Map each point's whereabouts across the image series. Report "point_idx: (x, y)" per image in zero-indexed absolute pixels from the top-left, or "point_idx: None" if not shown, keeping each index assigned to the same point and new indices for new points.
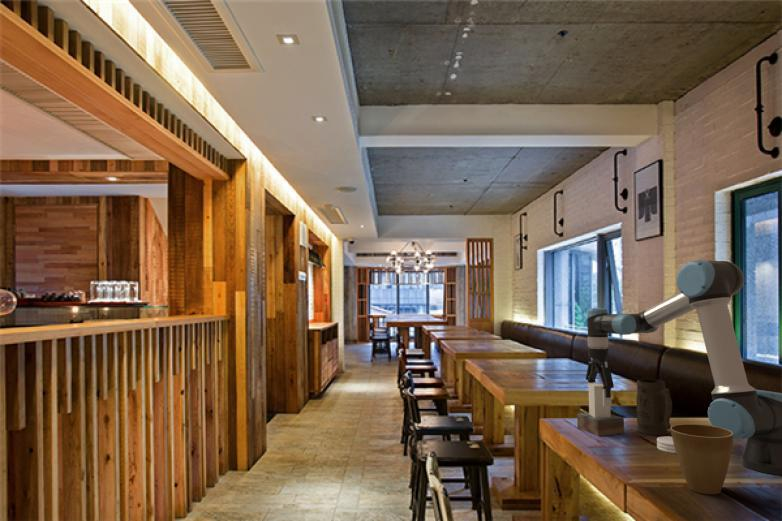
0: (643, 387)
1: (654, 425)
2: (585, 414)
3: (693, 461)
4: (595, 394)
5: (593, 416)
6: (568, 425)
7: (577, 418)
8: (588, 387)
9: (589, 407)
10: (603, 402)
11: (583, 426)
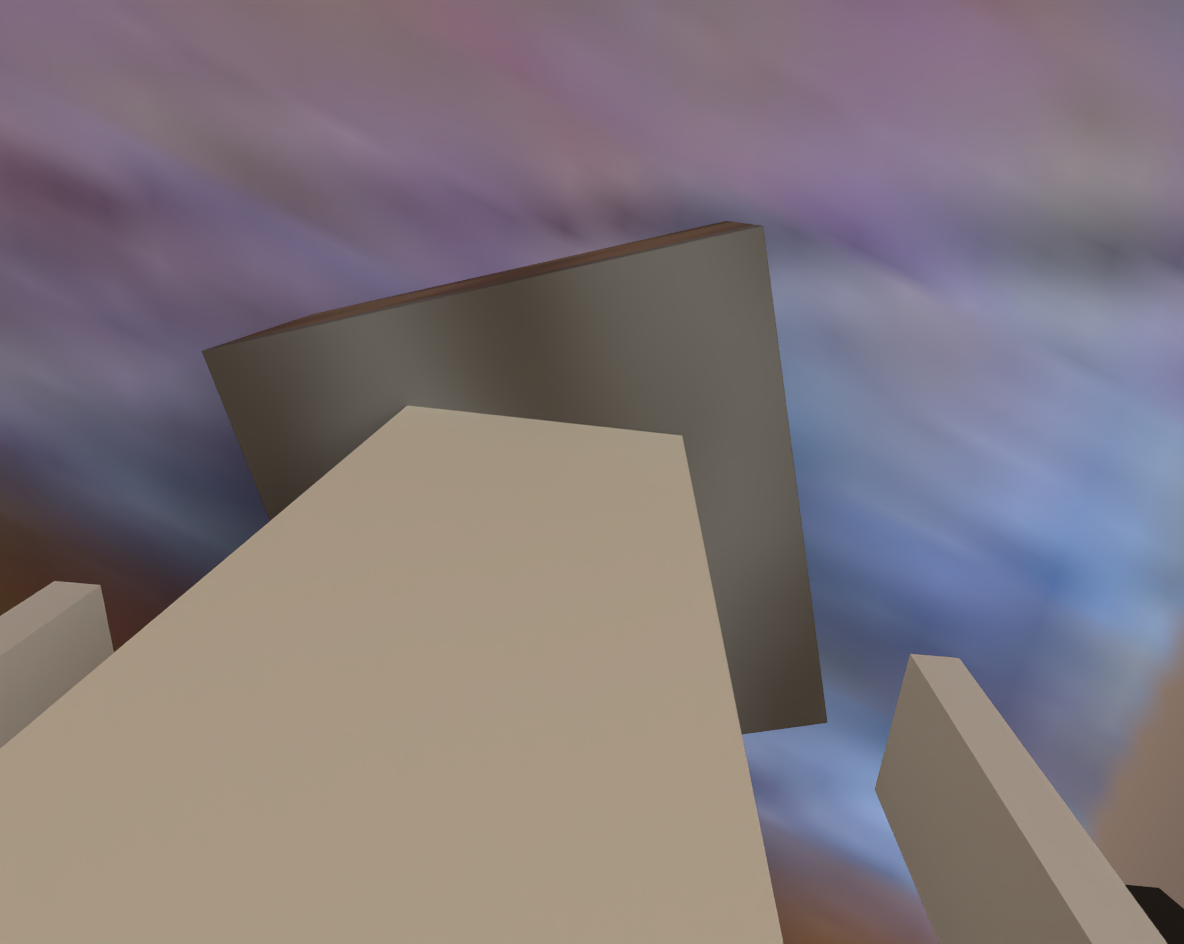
0: None
1: None
2: (677, 360)
3: None
4: (143, 659)
5: (476, 414)
6: (921, 157)
7: (746, 225)
8: (1163, 942)
9: (664, 477)
10: (23, 629)
11: (593, 254)
